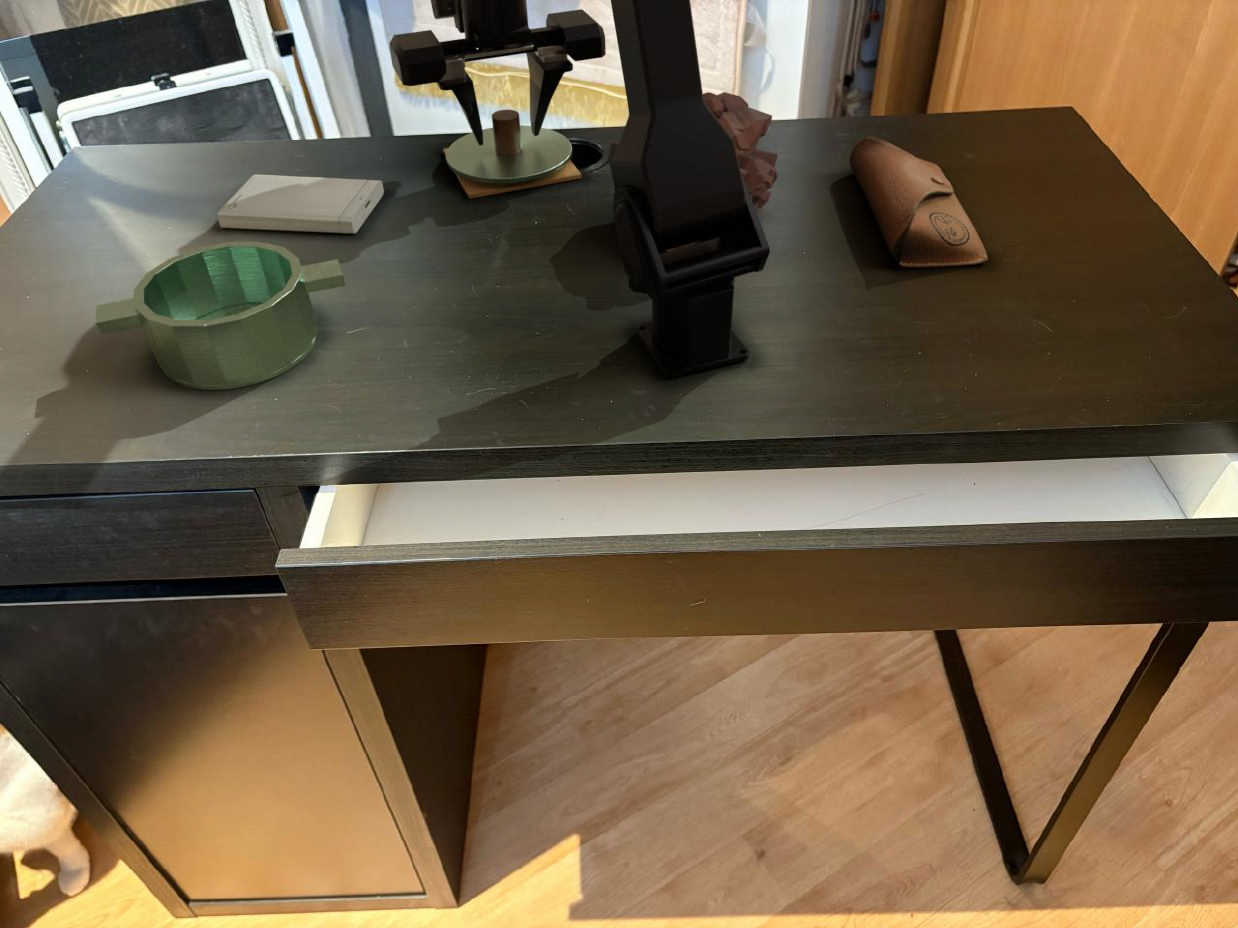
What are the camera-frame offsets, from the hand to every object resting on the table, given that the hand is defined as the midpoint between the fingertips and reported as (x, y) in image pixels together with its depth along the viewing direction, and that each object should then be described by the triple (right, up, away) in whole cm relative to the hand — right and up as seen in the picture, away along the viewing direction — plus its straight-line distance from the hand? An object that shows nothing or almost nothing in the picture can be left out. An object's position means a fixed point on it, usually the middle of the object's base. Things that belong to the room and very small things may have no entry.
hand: (507, 139), depth 92 cm
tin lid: (0, -1, +1) cm, 2 cm away
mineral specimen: (+18, -11, -9) cm, 23 cm away
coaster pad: (0, -2, +2) cm, 3 cm away
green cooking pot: (-18, -22, -20) cm, 35 cm away
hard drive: (-18, -8, -4) cm, 20 cm away
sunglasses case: (+36, -10, -8) cm, 39 cm away
